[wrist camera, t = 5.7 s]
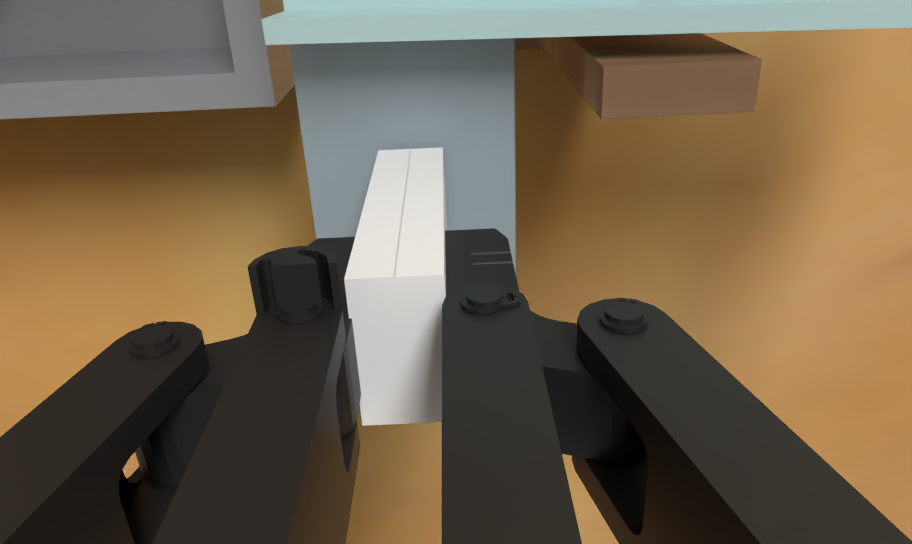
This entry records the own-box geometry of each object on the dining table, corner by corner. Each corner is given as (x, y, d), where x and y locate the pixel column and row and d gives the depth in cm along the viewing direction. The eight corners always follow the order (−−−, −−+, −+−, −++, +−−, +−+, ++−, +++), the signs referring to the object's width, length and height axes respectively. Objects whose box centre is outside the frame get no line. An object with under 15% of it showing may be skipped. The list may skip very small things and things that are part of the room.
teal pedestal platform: (1124, 344, 18) (1196, 398, 16) (338, 327, 20) (315, 372, 18) (1491, -498, 11) (1695, -588, 9) (245, -374, 13) (193, -423, 11)
